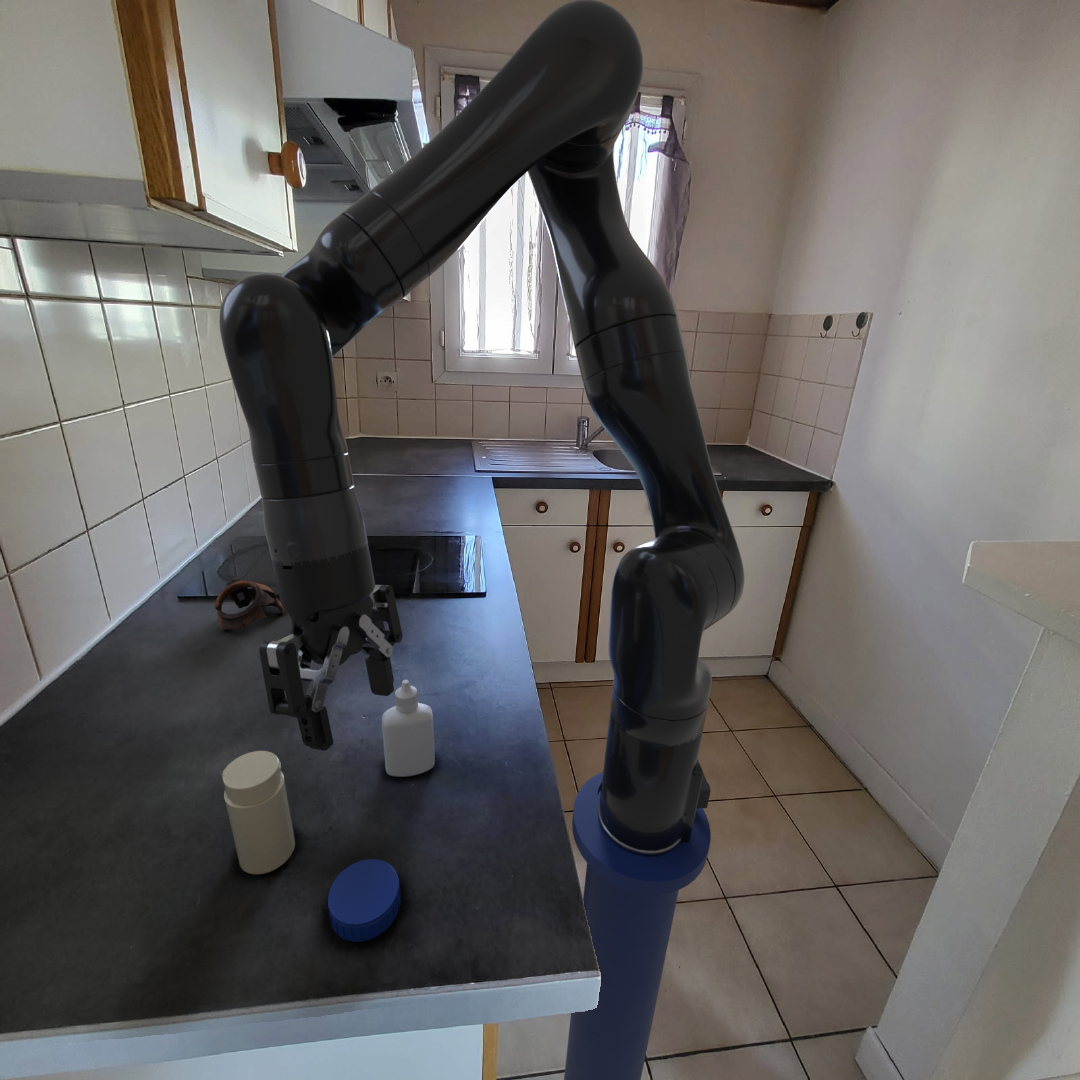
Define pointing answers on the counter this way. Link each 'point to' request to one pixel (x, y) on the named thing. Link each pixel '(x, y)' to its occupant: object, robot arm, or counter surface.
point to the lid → (364, 900)
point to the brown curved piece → (245, 603)
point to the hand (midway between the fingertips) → (354, 718)
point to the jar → (258, 811)
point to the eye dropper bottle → (408, 734)
